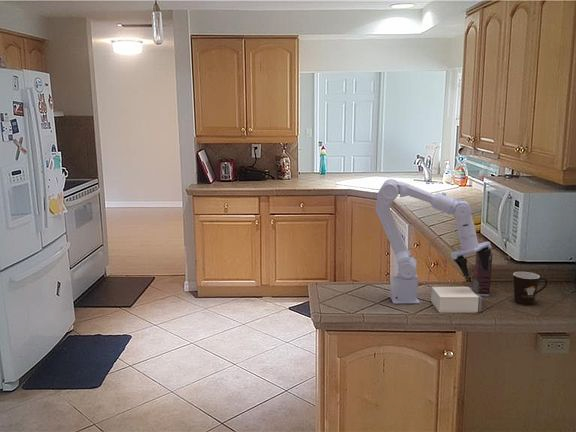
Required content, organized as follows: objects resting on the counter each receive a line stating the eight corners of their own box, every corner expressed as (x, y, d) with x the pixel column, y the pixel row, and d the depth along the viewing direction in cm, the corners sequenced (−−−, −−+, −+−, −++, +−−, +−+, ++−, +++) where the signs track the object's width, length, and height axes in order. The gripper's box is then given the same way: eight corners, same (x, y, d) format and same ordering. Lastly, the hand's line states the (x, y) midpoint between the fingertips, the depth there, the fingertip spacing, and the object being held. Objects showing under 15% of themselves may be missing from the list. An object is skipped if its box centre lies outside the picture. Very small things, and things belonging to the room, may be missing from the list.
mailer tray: (442, 311, 185) (443, 286, 183) (433, 300, 196) (435, 276, 194) (481, 311, 185) (482, 286, 183) (470, 300, 196) (471, 276, 194)
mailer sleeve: (439, 312, 185) (440, 297, 184) (431, 301, 196) (431, 286, 195) (477, 312, 185) (478, 297, 184) (467, 301, 196) (468, 286, 195)
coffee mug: (511, 304, 192) (513, 277, 191) (510, 297, 200) (512, 270, 199) (547, 308, 189) (550, 280, 187) (545, 300, 196) (547, 273, 195)
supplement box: (490, 296, 201) (492, 255, 198) (476, 296, 202) (478, 254, 199) (486, 289, 209) (489, 249, 206) (473, 288, 210) (475, 248, 207)
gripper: (455, 242, 182) (464, 281, 184) (492, 230, 185) (501, 268, 187) (444, 240, 189) (453, 277, 191) (480, 228, 192) (489, 265, 194)
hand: (476, 272), depth 189 cm, fingers open, 7 cm apart
